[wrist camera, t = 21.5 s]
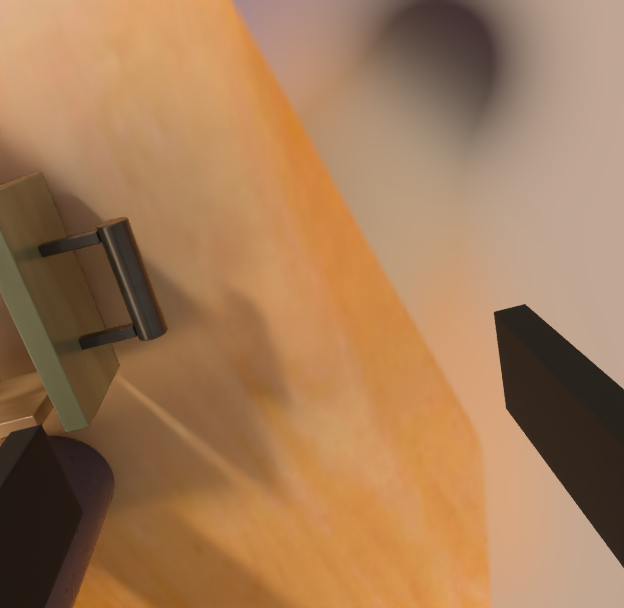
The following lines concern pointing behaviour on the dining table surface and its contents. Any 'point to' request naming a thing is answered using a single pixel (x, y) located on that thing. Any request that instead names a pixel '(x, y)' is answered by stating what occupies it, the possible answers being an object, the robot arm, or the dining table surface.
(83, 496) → the bottle
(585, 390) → the robot arm
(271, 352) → the dining table surface
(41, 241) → the drawer
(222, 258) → the dining table surface
